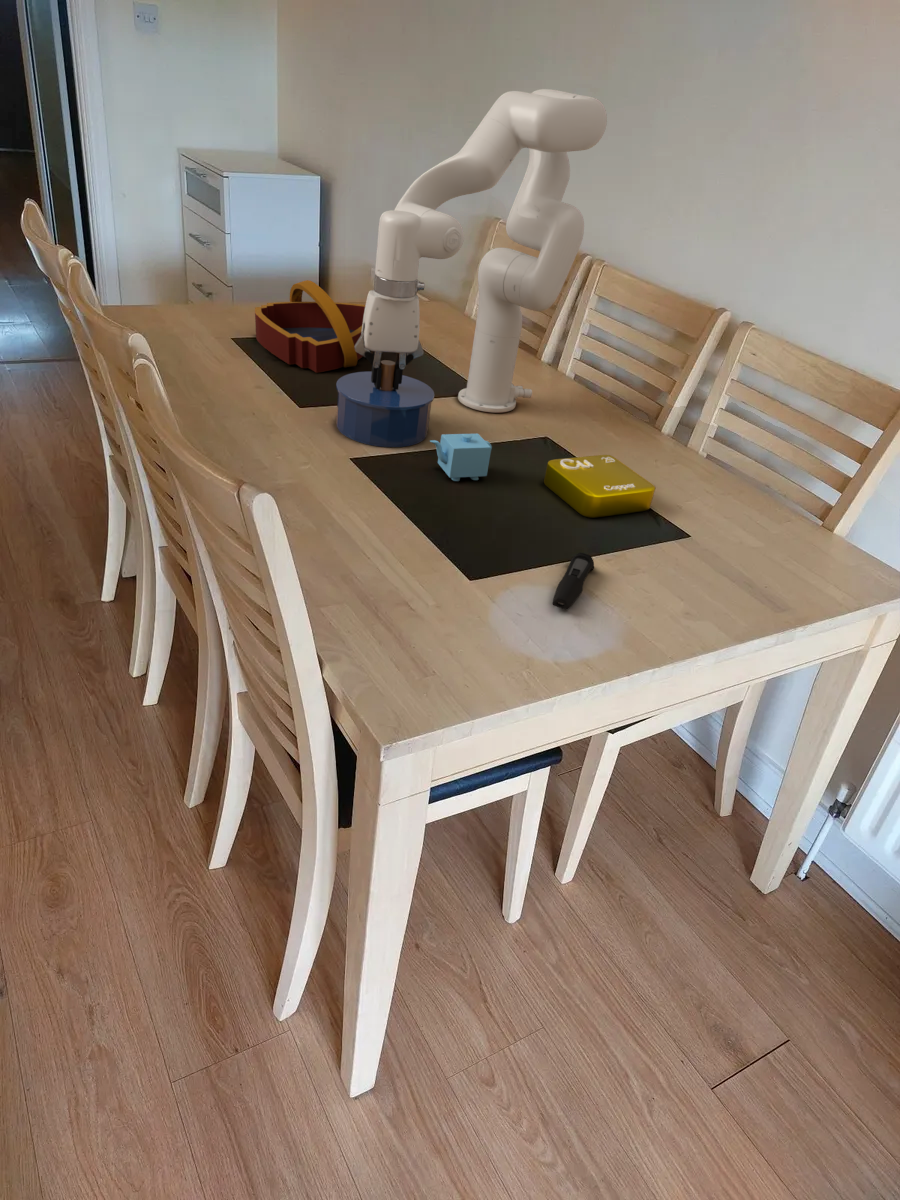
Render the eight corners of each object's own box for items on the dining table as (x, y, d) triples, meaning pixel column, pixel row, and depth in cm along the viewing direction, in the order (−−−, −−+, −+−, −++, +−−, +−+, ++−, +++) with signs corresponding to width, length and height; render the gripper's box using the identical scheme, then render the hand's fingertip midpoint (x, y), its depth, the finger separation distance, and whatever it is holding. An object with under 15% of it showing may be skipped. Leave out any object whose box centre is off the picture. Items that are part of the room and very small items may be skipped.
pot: (402, 408, 179) (405, 373, 175) (443, 443, 167) (448, 406, 163) (322, 414, 171) (324, 377, 167) (359, 451, 158) (362, 412, 154)
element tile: (585, 520, 147) (592, 494, 144) (538, 481, 158) (543, 457, 155) (654, 510, 154) (661, 486, 151) (604, 474, 164) (610, 450, 162)
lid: (406, 375, 176) (410, 344, 173) (451, 409, 163) (455, 377, 160) (320, 379, 167) (322, 347, 164) (360, 416, 154) (362, 382, 151)
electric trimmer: (543, 612, 122) (547, 593, 120) (571, 562, 134) (575, 545, 132) (569, 620, 121) (573, 601, 119) (594, 570, 133) (599, 552, 131)
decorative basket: (242, 334, 212) (233, 271, 203) (354, 317, 222) (350, 256, 213) (280, 386, 188) (272, 318, 179) (405, 364, 198) (402, 298, 188)
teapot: (431, 483, 151) (436, 443, 147) (419, 468, 156) (424, 429, 152) (493, 480, 156) (500, 441, 151) (480, 465, 160) (486, 427, 156)
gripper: (434, 284, 160) (423, 381, 169) (346, 278, 155) (340, 378, 165) (444, 296, 154) (431, 395, 163) (352, 289, 149) (345, 392, 159)
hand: (385, 385), depth 164 cm, fingers closed on lid, 2 cm apart
